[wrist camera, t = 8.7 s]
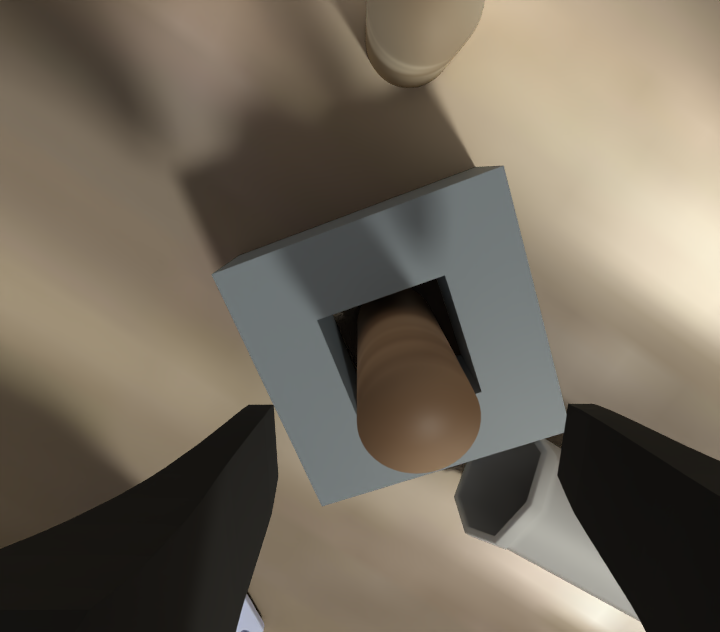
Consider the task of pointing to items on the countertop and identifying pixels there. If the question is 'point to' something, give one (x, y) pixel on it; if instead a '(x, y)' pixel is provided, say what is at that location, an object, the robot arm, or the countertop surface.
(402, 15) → the birch peg
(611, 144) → the countertop surface
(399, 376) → the walnut peg
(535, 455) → the tube
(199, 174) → the countertop surface
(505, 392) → the hole block
